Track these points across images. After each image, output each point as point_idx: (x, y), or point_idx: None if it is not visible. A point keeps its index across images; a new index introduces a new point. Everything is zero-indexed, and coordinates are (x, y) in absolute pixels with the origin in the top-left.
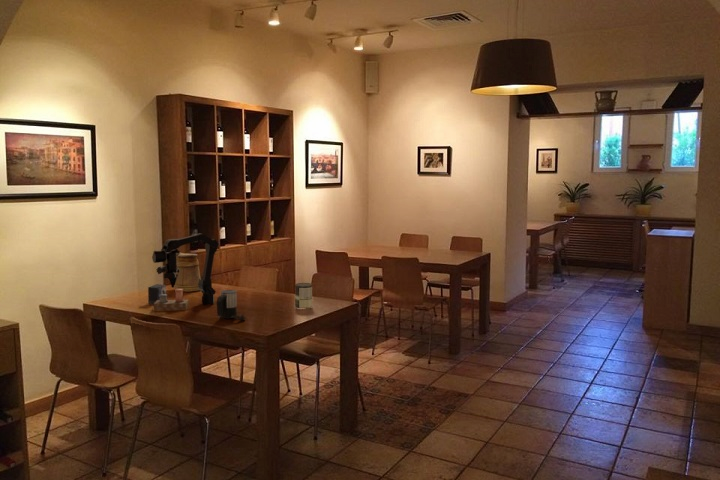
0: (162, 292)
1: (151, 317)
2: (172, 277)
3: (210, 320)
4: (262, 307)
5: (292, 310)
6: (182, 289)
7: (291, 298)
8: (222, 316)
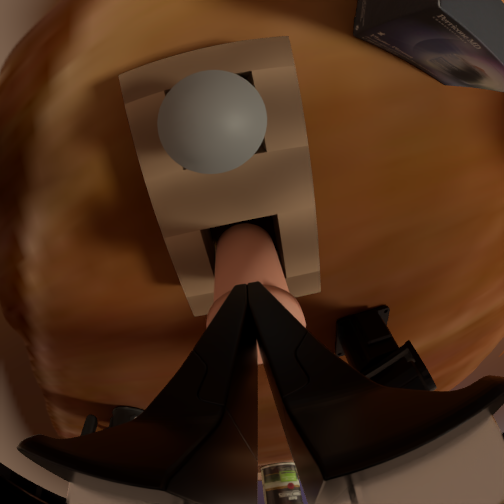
0: (459, 64)
1: (6, 171)
2: (16, 479)
3: (82, 389)
4: (279, 442)
5: None
6: (261, 360)
7: None
8: (113, 415)
